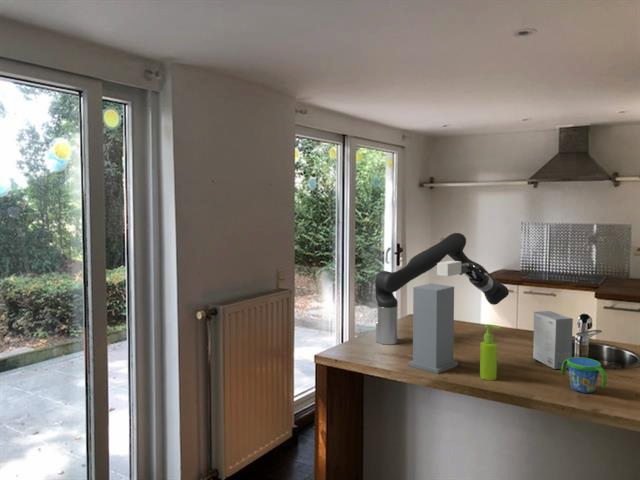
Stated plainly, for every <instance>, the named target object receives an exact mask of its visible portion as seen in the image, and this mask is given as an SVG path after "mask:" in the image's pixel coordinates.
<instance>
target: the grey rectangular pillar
mask: <svg viewBox="0 0 640 480" xmlns="http://www.w3.org/2000/svg"><path fill="white" fill-rule="evenodd" d="M412 293H413V294H412V295H413V296H412V297H413V298H412V299H413V300H412V302H413V304H412V305H413V306H412V307H413V308H412V309H413V310H412V312H413V314H412V316H413V317H412V360H410V361H408V363H407V365H408V366H409V367H413V368H416V369H420V370H423V371H427V372H429V373H434V374H436V375H439V374H441V373H443V372H446V371H448V370H450V369H451V370H452V369H453V368H455V367H457V366H459V362H458V361H455V360H454V341H455V340H454V339H455V338H454V336H455V335H454V333H455V330H454V329H455V328H454V327H455V326H454V325H455V323H454V322H455V319H454V318H455V286H453V285H451V286H450V285H443V284H437V283H428V284H422V285H417V286H413V292H412Z"/></svg>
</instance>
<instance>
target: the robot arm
mask: <svg viewBox="0 0 640 480" xmlns="http://www.w3.org/2000/svg"><path fill="white" fill-rule="evenodd" d="M466 245H467V238H466V236H465V235H464V234H463V233H461V232H460V233H459V232H454V233H450V234H449V235H448V236H446V237H445V238H444V239H442V240H441V241H439V242H438V243H436V244H434V245H432V246H430V247H428V248H427V249H425V250H423V251H421V252H419V253H417V254H416V255H414V256H413V257H412V258H411V259H410V260H409V261H408V263H407V264H406V265H405V266H404V267H403V268H401V269H398V270H397V271H387V270H382V271H380V272H378V273H377V275H376V277H375V282H374V283H375V285H374V287H375V288H374V289H375V299H376V302H377V321H376V322H375V343H378V344H381V345H396V344H398V340H399V339H398V317H399V316H398V310H399V309H398V300H397V298H396V297H395V296H394V293H395V292H396V291H399V290H400V289H401V288H403V287H404V286H405V285H407V284H409V282H412V281H413V280H414V279H416V278H418V277H420V276H421V275H423V274H425V273H427V272H429V271H430V270H433V268H435V267H437V263H440V262H442V260H443V259H444V258H446V257H447V256H449V257H450V258H451V259H452V261H460V262H461V264H463V263H468V264H467V268H468V269H469V270H470V272H465V273H461V274H458V275H459V276H463V275H465V276H466V277H467V278H468V280H469V282H470V283H471V284H472V285H473V286H474V287H475V288H477V290H479V291H480V292H482V293H483V294H484V296H485V299H486V301H487V302H488V303H489V304H490V305H493V306H495V305H497V304H499V303H500V302H502V301H503V300H504V299H505V298H507V296H509V294H510V292H509V289H508V287H507V286H505V285H504V284H503V283H501V282H500V281H498V280H497V279H495V278H494V277H493V276H492V275H491V274H490V273H489V272H488V270H487V269H486V268H485V267H484V266H482V265H481V264H480V263H477V262H476V261H473V260H472V259H470V258H469V257H468V256H467V254H465V252H464V249H465V247H466ZM470 263H472V264H474V266H473V265H472V264H470Z"/></svg>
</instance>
